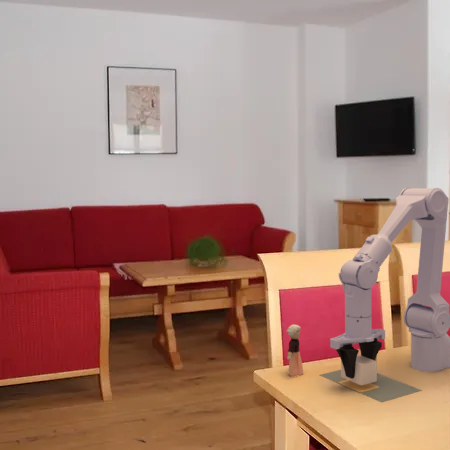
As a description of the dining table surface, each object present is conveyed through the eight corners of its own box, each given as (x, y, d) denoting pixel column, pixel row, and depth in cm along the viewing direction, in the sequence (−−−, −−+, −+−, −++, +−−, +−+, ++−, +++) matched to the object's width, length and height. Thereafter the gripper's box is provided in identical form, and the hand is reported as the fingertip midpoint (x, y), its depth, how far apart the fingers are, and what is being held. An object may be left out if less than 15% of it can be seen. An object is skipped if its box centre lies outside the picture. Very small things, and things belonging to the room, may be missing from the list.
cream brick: (356, 373, 135) (356, 353, 134) (376, 381, 129) (376, 361, 129) (341, 376, 132) (341, 357, 132) (361, 385, 127) (361, 365, 126)
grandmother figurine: (302, 382, 135) (301, 328, 134) (285, 382, 136) (284, 328, 135) (304, 371, 143) (303, 320, 142) (288, 371, 144) (287, 320, 142)
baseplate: (357, 368, 144) (357, 365, 144) (422, 393, 127) (422, 389, 127) (319, 378, 138) (319, 374, 138) (381, 406, 121) (381, 401, 121)
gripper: (345, 323, 122) (346, 386, 124) (395, 313, 130) (395, 373, 131) (323, 316, 128) (324, 377, 130) (372, 307, 136) (372, 365, 137)
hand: (358, 374), depth 131 cm, fingers closed on cream brick, 4 cm apart
